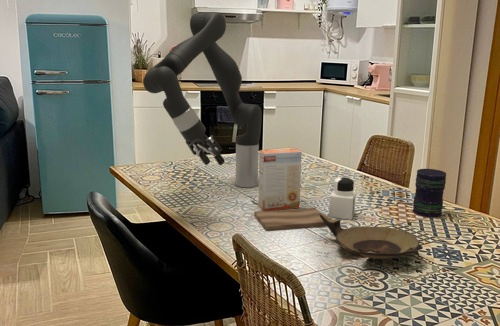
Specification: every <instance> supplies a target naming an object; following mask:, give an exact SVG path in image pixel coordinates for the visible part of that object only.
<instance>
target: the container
mask: <svg viewBox="0 0 500 326" xmlns="http://www.w3.org/2000/svg"><path fill="white" fill-rule="evenodd" d="M354 184H355V181H354V180H353V179H352V178H349V177H345V176H342V177H341V176H340V177H337V178H335V179H334V181H333V191H332V192H331V194H330V196H329V206H328V207H329V208H328V217H329V218H335V219H340V220H342V219H344V220H349V221H351V220H353V216H354V215H355V211H356V210H355V209H356V197H357V192H356V191H354V186H355V185H354Z"/></svg>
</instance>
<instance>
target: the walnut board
mask: <svg viewBox="0 0 500 326" xmlns="http://www.w3.org/2000/svg"><path fill="white" fill-rule="evenodd" d="M321 213H322V212H321V211H320V210H319V209H317V208H316V207H308V208H305V207H304V208H294V209H280V210H268V211H263V210H261V211H260V210H259V211H254V213H253V216H254V217H255V219H256V220H257V221H258V222H259V224H260V225H261V227H263V229H264V230H265V231H266V232H270V231H284V230H297V229H307V228H308V229H309V228H322V227H327V225H326V224H325V223H324V221H323V220H322V219H321V217H320V214H321Z"/></svg>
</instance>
